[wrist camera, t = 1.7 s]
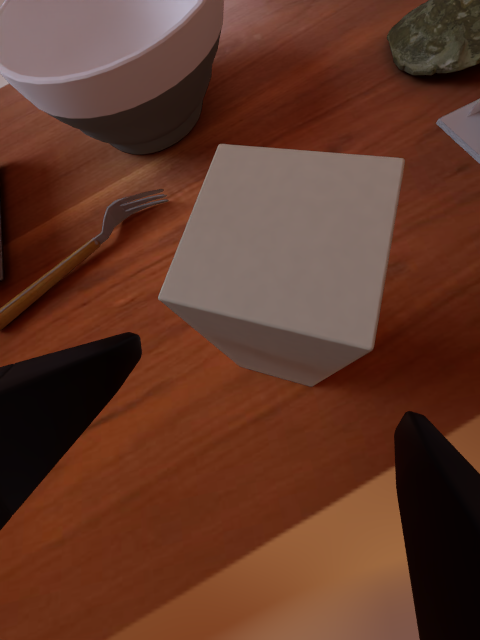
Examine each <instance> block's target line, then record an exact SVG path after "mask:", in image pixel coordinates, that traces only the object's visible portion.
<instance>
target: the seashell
mask: <svg viewBox="0 0 480 640" xmlns="http://www.w3.org/2000/svg"><path fill="white" fill-rule="evenodd" d="M387 40H388V41H389V44H390V48H391V51H392V55H393V61H394V63H395V64H396V66H397V67H398V68H399V69H400V70H404V71H405V72H407V73H409V74H411V75H433V74H434V73H450V72H455V71H459V70H462V69H465V68H468V67H471V66H474V65H476V64H479V63H480V0H429V1H427V2H426V3H424V4H422V5H420V6H419V7H417V8H415V9H414V10H412V11H411V12H409V13H408V14H407V15H406V16H404V17H403V18H402V19H401V20H400V21H399V22H398V23H397V24H396V25H395V26H393V27H392V29H391V30H390V31H389V33H388V35H387Z"/></svg>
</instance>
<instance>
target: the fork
mask: <svg viewBox="0 0 480 640" xmlns="http://www.w3.org/2000/svg"><path fill="white" fill-rule="evenodd" d="M159 192H163V189H158V190H153V191H148V192H144V193H140V194H136V195H133V196H129V197H125V198H122V199H118V200H116V201H114V202H113V203H112V204H110V205H109V206H108V207H107V209H106V212H105V215H104V220H103V226H102V232H101V233H100V234H99V235H97V236H96V237H95V238H92V239H91V240H89V241H88V242H87V243H85V244H84V245H83V246H81V247H80V248H79V249H77V250H76V251H75V252H74V253H72V254H71V255H70V256H68V257H67V258H66V259H64V260H63V261H62V262H60V263H59V264H58V265H56V266H55V267H54V268H53V269H51V270H50V271H49V272H47V273H46V274H45V275H43V276H42V277H41V278H39V279H38V280H37V281H35V282H34V283H33V284H32V285H30V286H29V287H28V288H26V289H25V290H24V291H22V292H21V293H20V294H18V295H17V296H16V297H14V298H13V299H12V300H11V301H9V302H8V303H7V304H5V305H4V306H3V307H1V308H0V330H2V329H3V328H4V327H5V326H7V325H8V324H9V323H10V322H11V321H12V320H14V319H15V318H16V317H17V316H18V315H20V314H21V313H22V312H23V311H24V310H25V309H27V308H28V307H29V306H30V305H31V304H33V303H34V302H35V301H36V300H37V299H38V298H40V297H41V296H42V295H43V294H44V293H45V292H47V291H48V290H49V289H50V288H51V287H53V286H54V285H55V284H56V283H57V282H58V281H60V280H61V279H62V278H63V277H64V276H66V275H67V274H68V273H69V272H70V271H71V270H73V269H74V268H75V267H76V266H77V265H79V264H80V263H81V262H82V261H83V260H84V259H86V258H87V257H88V256H89V255H90V254H92V253H93V252H94V251H95V250H96V249H97V248H99V247H100V245H101V244H102V243H103V242H105V241H106V240H107V239H108V238H109V236H110V235H111V233H112V231H113V229H114V227H116V226H117V225H118V224H119V223H121V222H122V221H123V220H125V219H126V218H127V217H129V216H130V215H131V214H133V213H135V212H138V211H140V210H142V209H144V208H147V207H150V206H152V205H155V204H159V203H163V202H167V201H169V200H161V201H156V202H151V203H147V204H144V205H141V204H143V203H146V202H149V201H152V200H156V199H160V198H163V197H166V196H167V195H164V194H162V195H157V196H152V197H147V198H144V199H140V200H137V201H133V200H135V199H138V198H142V197H145V196H148V195H152V194H155V193H159ZM130 201H133V202H130ZM127 202H129V203H127ZM125 203H126V204H125ZM138 205H140V206H138ZM135 206H137V207H135ZM133 207H134V208H133ZM130 208H131V209H130Z"/></svg>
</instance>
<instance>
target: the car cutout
mask: <svg viewBox="0 0 480 640" xmlns="http://www.w3.org/2000/svg"><path fill="white" fill-rule="evenodd" d="M436 124H437V125H438V126H439V127H440V128H442V129H443V130H444V131H445V132H446V133H447V134H448V135H449V136H450V137H451V138H452V139H453V140H455V141H456V142H457V143H458V144H459V145H460V146H461V147H462V148H463V149H464V150H465V151H467V152H468V153H469V154H470V155H471V156H472V157H473V158H474V159H475V160H476V161H477V162H478V163H480V99H478V100H476V101H474V102H472V103H470V104H468V105H466V106H464V107H462V108H460V109H458V110H455V111H453V112H451V113H449V114H447V115H445V116H443V117H441V118H439V119H438V121H437V123H436Z"/></svg>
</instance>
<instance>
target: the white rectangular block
mask: <svg viewBox="0 0 480 640" xmlns="http://www.w3.org/2000/svg"><path fill="white" fill-rule="evenodd" d="M404 164H405V160H404V159H403V158H393V157H380V156H368V155H355V154H342V153H330V152H317V151H305V150H292V149H280V148H267V147H255V146H242V145H229V144H219V145H218V147H217V150H216V152H215V155H214V158H213V160H212V163H211V165H210V168H209V170H208V173H207V175H206V178H205V180H204V183H203V185H202V188H201V190H200V193H199V195H198V198H197V200H196V203H195V205H194V208H193V210H192V213H191V216H190V218H189V221H188V223H187V226H186V228H185V231H184V233H183V236H182V238H181V241H180V243H179V246H178V248H177V251H176V253H175V256H174V258H173V261H172V263H171V266H170V268H169V271H168V273H167V276H166V279H165V281H164V284H163V286H162V289H161V291H160V294H159V296H158V299H159V300H160V301H161V302H163V303H164V304H165V305H166V306H167V307H169V308H170V309H171V310H172V311H173V312H175V313H176V314H177V315H178V316H179V317H181V318H182V319H183V320H184V321H185V322H187V323H188V324H189V325H190V326H192V327H193V328H194V329H195V330H196V331H198V332H199V333H200V334H201V335H202V336H204V337H205V338H206V339H207V340H208V341H210V342H211V343H212V344H213V345H214V346H216V347H217V348H218V349H219V350H220V351H222V352H223V353H224V354H225V355H227V356H228V357H229V358H230V359H231V360H233V361H234V362H235V363H236V364H237V365H239V366H240V367H243V368H247V369H250V370H254V371H257V372H261V373H264V374H268V375H271V376H275V377H278V378H282V379H285V380H289V381H292V382H296V383H299V384H303V385H307V386H310V387H312V386H314V385H315V384H317V383H319V382H320V381H322V380H324V379H325V378H327V377H329V376H330V375H332V374H334V373H335V372H337V371H339V370H340V369H342V368H344V367H345V366H347V365H349V364H350V363H352V362H354V361H355V360H357V359H359V358H360V357H362V356H364V355H366V354H367V353H369V352H371V351H372V350H373V349H374V344H375V338H376V332H377V326H378V320H379V314H380V308H381V302H382V296H383V290H384V284H385V278H386V272H387V266H388V260H389V254H390V248H391V242H392V236H393V230H394V224H395V218H396V212H397V206H398V200H399V194H400V188H401V182H402V176H403V170H404Z"/></svg>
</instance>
